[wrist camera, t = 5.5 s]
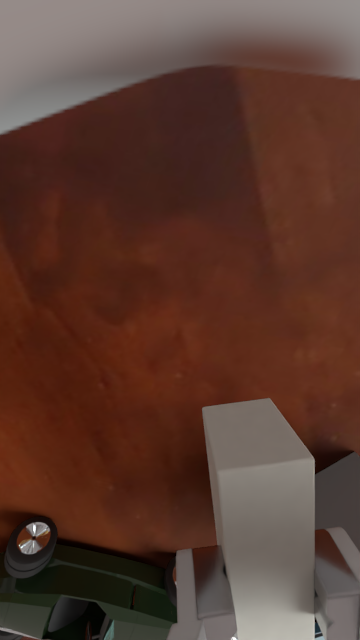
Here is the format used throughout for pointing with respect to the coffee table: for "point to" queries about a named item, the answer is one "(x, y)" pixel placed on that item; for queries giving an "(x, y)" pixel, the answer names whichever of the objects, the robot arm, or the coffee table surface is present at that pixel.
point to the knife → (263, 518)
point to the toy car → (80, 591)
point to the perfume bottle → (339, 497)
